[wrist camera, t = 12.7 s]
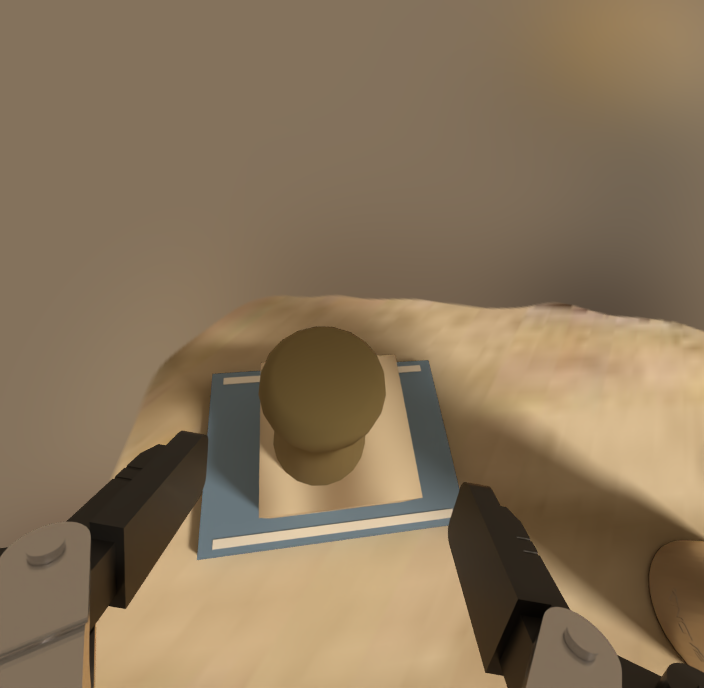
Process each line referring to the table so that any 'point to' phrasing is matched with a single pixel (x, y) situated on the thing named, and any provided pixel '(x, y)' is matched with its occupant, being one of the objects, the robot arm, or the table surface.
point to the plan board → (268, 534)
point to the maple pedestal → (367, 477)
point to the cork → (321, 402)
